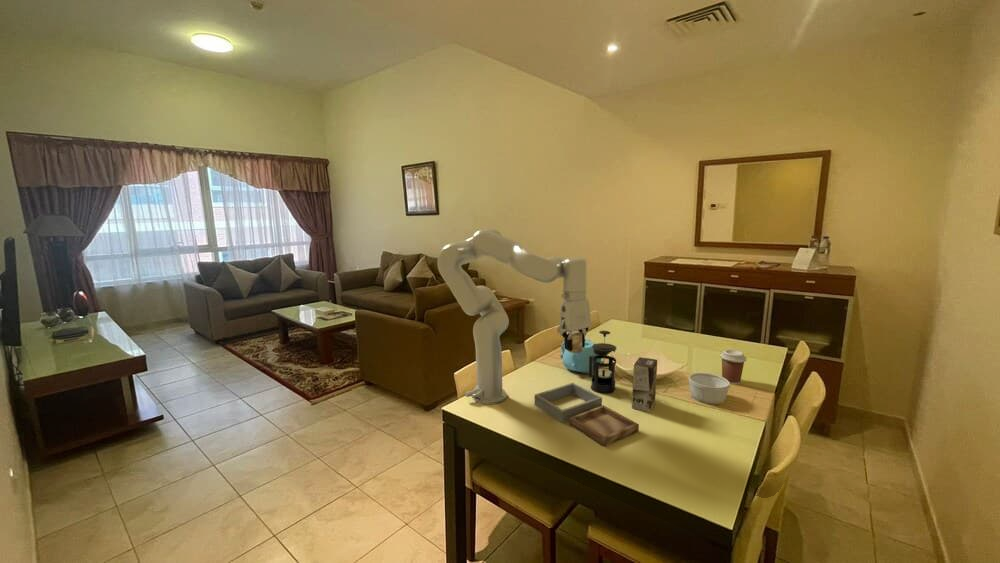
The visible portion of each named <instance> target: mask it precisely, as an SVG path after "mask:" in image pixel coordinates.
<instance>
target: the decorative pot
mask: <svg viewBox="0 0 1000 563" xmlns="http://www.w3.org/2000/svg"><path fill="white" fill-rule="evenodd" d="M594 344H596V343H595V342H594V341H592V340H591V339H588V338H587V339H586V338H585V347H582V352H579V353H571V352H568V351H567V350H566V349H565V348H564V341H562V343H561V345H560V350H561V354H560V356H559V357H560V359H561V360H562V364H563V365H564V367H565V368H566V369H568V370H569V371H570V372H580V373H582V374H584V373H588V374H589V356H591V355H594V356H597V354H595V353H594V352H593V348H592V346H593V345H594ZM602 359H603V358H599V359H596V362H599V363H603V360H602ZM599 368H602V367H601V366H599ZM592 372H593V366H592Z"/></svg>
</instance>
